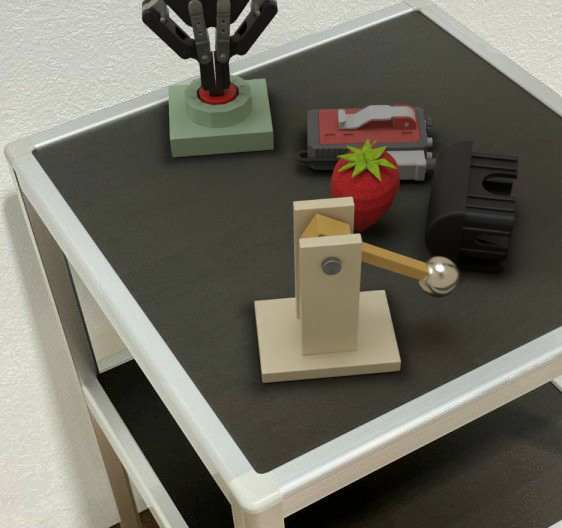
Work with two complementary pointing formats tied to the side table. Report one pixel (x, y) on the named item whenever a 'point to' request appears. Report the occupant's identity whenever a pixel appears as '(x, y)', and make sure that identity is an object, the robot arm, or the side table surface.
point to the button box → (220, 120)
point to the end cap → (471, 207)
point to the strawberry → (366, 182)
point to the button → (218, 96)
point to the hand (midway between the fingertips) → (216, 90)
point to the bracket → (326, 308)
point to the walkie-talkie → (370, 137)
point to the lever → (395, 259)
